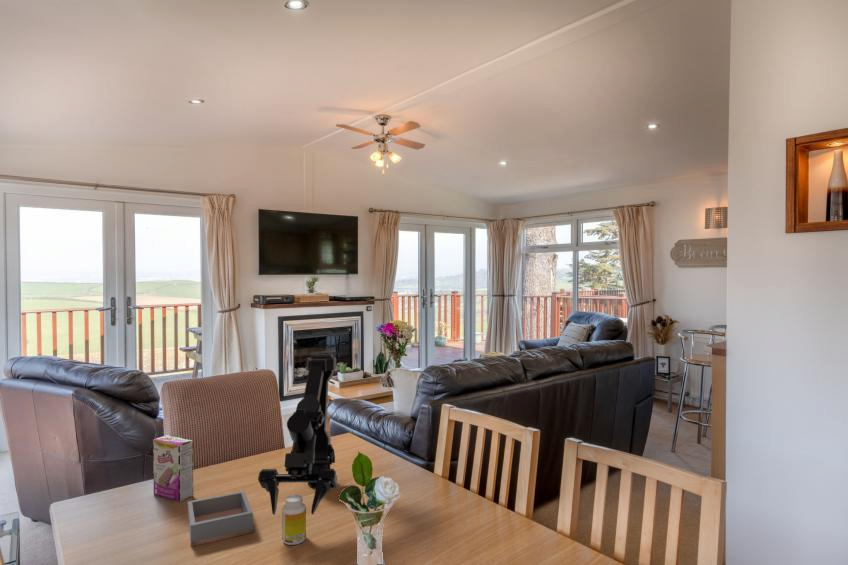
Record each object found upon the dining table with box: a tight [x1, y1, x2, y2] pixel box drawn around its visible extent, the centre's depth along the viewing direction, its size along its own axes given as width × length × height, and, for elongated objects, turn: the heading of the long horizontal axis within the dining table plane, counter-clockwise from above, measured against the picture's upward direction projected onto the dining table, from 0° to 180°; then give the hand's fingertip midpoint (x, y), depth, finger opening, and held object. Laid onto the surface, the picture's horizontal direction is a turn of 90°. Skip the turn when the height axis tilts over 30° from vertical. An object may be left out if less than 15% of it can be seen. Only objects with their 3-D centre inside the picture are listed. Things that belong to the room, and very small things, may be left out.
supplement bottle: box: [281, 494, 307, 546], centre depth 122 cm, size 6×6×10 cm
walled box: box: [187, 490, 254, 547], centre depth 129 cm, size 14×14×5 cm
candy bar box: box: [152, 434, 194, 503], centre depth 146 cm, size 11×5×16 cm, turn 65°
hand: (292, 514), depth 121 cm, fingers open, 9 cm apart
